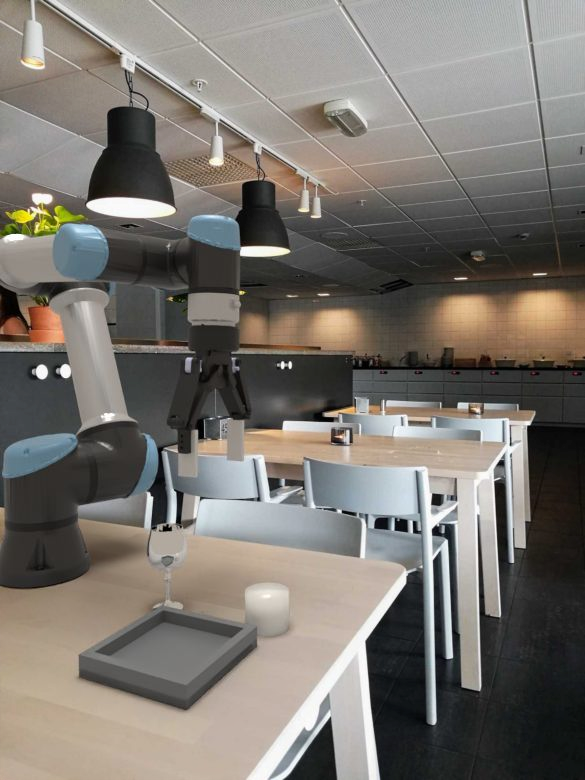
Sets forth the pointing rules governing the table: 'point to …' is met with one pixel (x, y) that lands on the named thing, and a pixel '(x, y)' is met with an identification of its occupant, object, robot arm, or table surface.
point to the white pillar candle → (267, 608)
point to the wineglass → (167, 554)
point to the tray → (169, 655)
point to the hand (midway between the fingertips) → (213, 468)
